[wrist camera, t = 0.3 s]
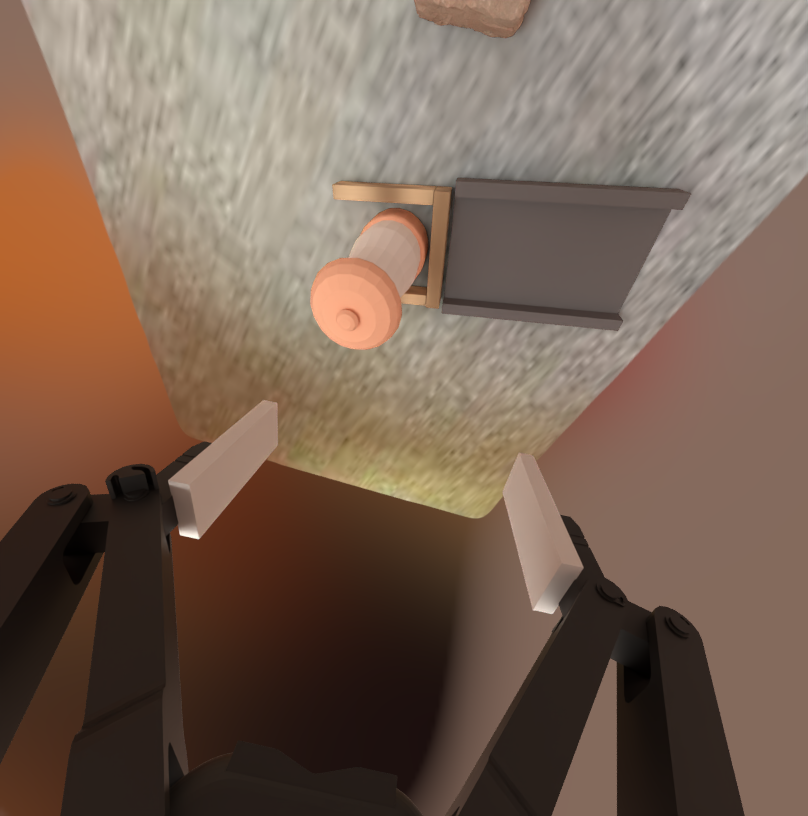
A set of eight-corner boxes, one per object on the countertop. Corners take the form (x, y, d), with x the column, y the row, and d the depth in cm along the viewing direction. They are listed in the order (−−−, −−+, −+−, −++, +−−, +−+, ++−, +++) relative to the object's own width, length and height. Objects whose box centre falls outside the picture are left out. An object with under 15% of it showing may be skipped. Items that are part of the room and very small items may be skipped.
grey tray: (443, 304, 40) (441, 313, 38) (457, 177, 31) (456, 181, 29) (611, 320, 38) (618, 330, 36) (678, 188, 29) (691, 193, 27)
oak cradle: (350, 289, 41) (343, 299, 38) (340, 181, 33) (330, 185, 31) (440, 298, 39) (438, 308, 37) (452, 187, 32) (450, 192, 29)
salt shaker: (422, 200, 33) (380, 260, 19) (433, 272, 37) (406, 363, 23) (357, 215, 35) (276, 279, 21) (375, 281, 39) (318, 370, 25)
